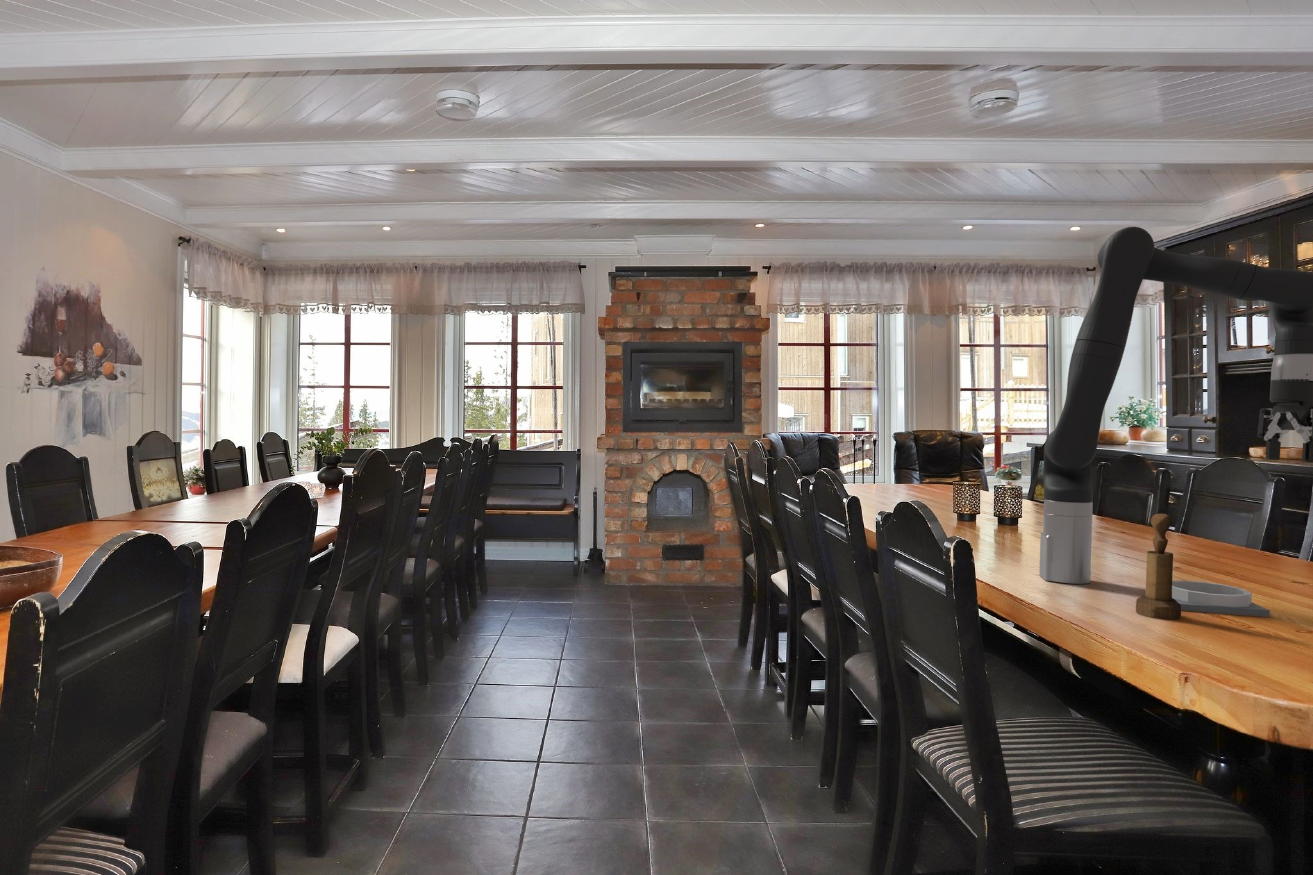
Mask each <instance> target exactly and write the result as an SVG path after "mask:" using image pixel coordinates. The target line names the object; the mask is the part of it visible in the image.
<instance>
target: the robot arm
mask: <svg viewBox="0 0 1313 875" xmlns="http://www.w3.org/2000/svg"><path fill="white" fill-rule="evenodd" d="M1097 264H1098V266H1099V269H1101V270H1100V275H1099V280H1098V285H1097V289H1096V292H1095V295H1094V297H1093V300H1092V302H1091V304H1090V305H1089V307H1088V310H1087V312H1086V314H1085V316H1084V318H1083V320H1082V323H1081V326H1080V327H1079V330H1078V333H1077V336H1076V338H1075V341H1074V345H1073V350H1072V352H1071V357H1070V361H1069V367H1068V374H1067V382H1066V385H1067V386H1066V387H1067V388H1066V396H1065V401H1064V405H1063V408H1062V411H1061V414H1060V416H1059V419H1058V421H1057V425H1056V427H1055V429H1054V430H1053V431H1051V432H1050V433H1049V435H1047V437H1046V439H1045V441H1044V447H1043V478H1042V479H1043V480H1042V481H1043V482H1042V483H1043V493H1044V494H1043V527H1042V528H1043V529H1042V530H1043V531H1042V532H1041V533H1040V536H1039V538H1040V540H1039V541H1040V543H1039V544H1040V545H1039V548H1040V549H1039V570H1038V571H1039V576H1040V577H1041V578H1042V579H1043V580H1045V581H1048V582H1049V581H1050V582H1055V583H1056V582H1057V583H1063V584H1064V583H1065V584H1076V585H1078V584H1079V585H1084V584H1089V583H1091V576H1092V575H1091V574H1092V541H1093V539H1092V537H1093V534H1092V533H1093V507H1094V506H1093V505H1094V504H1093V501H1094V490H1093V489H1094V488H1093V485H1092V484H1093V483H1092V461H1093V460H1094V458H1095V456H1096V454H1097V448H1098V443H1099V438H1100V437H1099V436H1100V431H1101V430H1100V429H1101V424H1102V420H1103V414H1104V411H1105V410H1104V409H1105V407H1106V403H1107V401H1108V399H1109V396H1110V394H1111V392H1112V389H1113V386H1114V384H1115V380H1116V377H1117V375H1118V373H1119V370H1120V369H1119V368H1120V366H1121V362H1122V360H1123V356H1124V353H1125V351H1126V350H1125V348H1126V345H1127V342H1128V341H1127V340H1128V337H1129V333H1130V328H1131V324H1132V320H1133V314H1134V309H1135V304H1136V300H1137V296H1138V294H1139V291H1140V288H1141V285H1142V283H1143V280H1146V281H1154V282H1161V283H1166V284H1172V285H1176V286H1182V287H1187V288H1191V289H1196V290H1199V291H1202V292H1203V291H1204V292H1208V293H1211V294H1215V295H1220V296H1224V297H1228V298H1232V299H1237V300H1241V301H1246V302H1256V301H1263V302H1268V303H1271V313H1272V314H1271V316H1272V322H1273V326H1274V331H1275V336H1274V337H1275V338H1274V346H1273V347H1274V350H1273V351H1274V352H1273V360H1272V365H1271V369H1270V370H1271V371H1270V372H1271V373H1270V385H1269V386H1270V388H1269V389H1270V390H1269V401H1270V402H1271V403H1273V404H1274V406H1273V408H1266V407H1265V408H1263V407H1262V408H1260V410H1259V416H1258V423H1257V424H1258V426H1257V432H1256V433H1257V434H1256V436H1257V438H1262V439H1263V440H1264V441H1265V458H1266V459H1267V460H1270V461H1271V460H1272V461H1279V460H1280V459H1281V445H1282V442H1281V440H1282V438H1283V437H1284V435H1285V434H1288V433H1289V432H1290V431H1295V433H1297V434H1299V435H1300V436H1301V439H1302V440H1303V442H1302V451H1301V453H1302V454H1301V461H1302V462H1303V463H1309V464H1310V463H1313V272H1309V271H1303V270H1295V269H1287V268H1286V269H1285V268H1273V267H1266V266H1262V265H1258V264H1255V263H1249V262H1247V261H1246V262H1245V261H1241V260H1236V259H1232V258H1225V257H1218V256H1217V257H1216V256H1205V255H1188V254H1181V253H1176V252H1172V251H1171V252H1170V251H1167V250H1163V249H1160V248H1157V247H1155V242H1154V239H1153V237H1152V235H1151V234H1150V232H1148V231H1147V230H1146V229H1144V228H1142V227H1139V226H1128V227H1124V228H1122V229H1119V230H1117V231H1116V232H1114V233H1113V234H1111V235H1110V236H1109V237H1108V238H1107V239H1106V240H1105V241H1104V243H1103V244H1102V245H1101V247H1100V249H1099V251H1098V253H1097ZM1266 426H1267V431H1265V429H1266Z"/></svg>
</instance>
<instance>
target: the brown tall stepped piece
mask: <svg viewBox="0 0 1313 875" xmlns="http://www.w3.org/2000/svg"><path fill="white" fill-rule="evenodd" d="M1150 523H1151V524H1150V525H1151V526H1152V528H1153V529H1154V531H1155V535H1154V537H1152V544H1153V548H1154V550H1147V551H1146V571H1145V572H1146V573H1145V594H1144V595H1141V596H1140V597H1138V598H1136V601H1135V612H1136V613H1137V614H1138V615H1141V616H1143V617H1148V618H1153V619H1161V620H1180V619H1181V618H1182V611H1181V605H1180V604H1179V603H1178V602H1177V601H1176V600H1175V599H1173V598H1172V581H1173V575H1174V574H1173V570H1174V568H1173V567H1174V566H1173V565H1174V553H1172V552H1169V551H1166V549H1167V546H1168V542H1169V539H1167V537H1166V533H1167V532H1168V531H1169V529H1170V527H1171V525H1172V519H1171V517H1170V515H1169V514H1166V513H1155V514H1153V515H1152V517H1151V519H1150Z"/></svg>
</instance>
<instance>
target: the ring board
mask: <svg viewBox="0 0 1313 875" xmlns="http://www.w3.org/2000/svg"><path fill="white" fill-rule="evenodd" d="M1252 594H1253V593H1252V591H1249V590H1247V589H1244V588H1241V587H1236V586H1232V585H1227V584H1221V583H1214V582H1208V581H1200V580H1199V581H1197V580H1183V579H1181V580H1178V579H1177V580H1172V598H1173V599H1175V600H1176V601H1177V602H1178V603H1179V604H1180V605H1181V612H1183V611H1184V612H1196V613H1209V614H1210V613H1211V614H1221V615H1222V614H1223V615H1237V616H1238V615H1239V616H1249V617H1250V616H1251V617H1252V616H1253V617H1265V618H1270V616H1271V615H1270V613H1271V610H1270V609H1268V608H1265V607H1263V606H1261V605H1258V604H1257V603H1254V602H1252V598H1253V597H1252V596H1253V595H1252Z"/></svg>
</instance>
